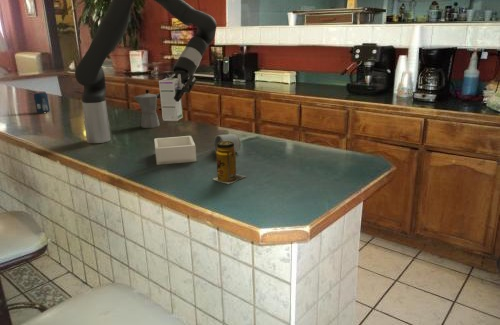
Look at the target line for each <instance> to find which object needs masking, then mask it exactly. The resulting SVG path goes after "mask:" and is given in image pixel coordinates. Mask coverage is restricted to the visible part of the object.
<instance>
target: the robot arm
mask: <svg viewBox="0 0 500 325" xmlns="http://www.w3.org/2000/svg"><path fill="white" fill-rule="evenodd" d="M135 1H136V0H112V1H111V3H110V4H109V7H108V8H107V10H106V13H105V15H104V16H103V18H102V19H101V22H100V24H99V26H98V28H97V30H96V32H95V35H94V36H93V38H92V41H91V43H90V45H89V46H88V49H87V51H86V52H85V54H84V55H83V57H82V59H81V60H80V61H79V63H78V64H77V65H76V68H75V70H74V77H75V80H76V81H77V83H78V84H80V85H82V86H83V91H82V94H81V103H82V109H83V116H84V117H83V118H84V120H83V122H84V131H85V135H86V136H85V137H86V141H87V144H101V143H102V144H103V143H108V142H110V141H111V132H110V124H109V116H108V109H107V108H108V107H107V100H106V94H107V87H106V86H107V85H106V84H107V83H106V77H105V71H104V69H103V64H104V62H105V61H106V59H107V58H108V56H109V55H110V54H111V53H112V52H113V51H114V50H115V49H116V48H117V46H119V44H120V42H121V41H122V39H123V37H124V35H125V34H126V32H127V29H128V27H129V22H130V18H131V17H130V16H131V9H132V6H133V4H134V3H135ZM153 1H154V2H155V3H157V4H159V5H160V7H162V8H163V9H164V10H165V11H167V12H168V13H169V14H170V15H171V16H172V17H174V18H175V19H177V20H178V21H179V22H180V23H182V24H183V25H184V26H187V27H191V26H192V25H194V26H196V27H197V28H196V29H197V30H196V33H195V34H194V36H192V37H191V38H190V39H189V41H188V42H187V44H186V45H185V48H184V49H183V50H182V51H181V53H180V54H179V57H178V58H177V61H176V62H175V64H174V65H173V72H172V73H171V74H169V73H167V72H165V73H164V75H163V77H162V79H161V80H163V79H165V78H178V79H179V80H178V84H179V89H180V90H178V91H177V93H176V95H175V97H174V100H175V101H176V102H179V100H180V99H183V98H182V97H183V95H185V94H186V93H188V94H189V93H190V92H191V91H192V89H193V87H194V85H195V83H196V82H197V79H196V77H195V76H194V74H195V73H196V71H197V69H198V67H199V66H200V64H201V61H202V59H203V57H204V54H205V53H206V51H207V49H208V48H209V46H210V45H211V44H212V42H213V41H214V38H215V36H216V32H217V25H218V24H217V21H216V19H215V18H214V17H213V16H212V15H210V14H208V13H206V12H204V11H201V10H199V9H195V8H194V7H193V6H191V5H190V4H189V3H187V2H186V1H185V0H153ZM157 94H158V97H159V98H158V99H159V100H161V98H160V92H158V93H157Z"/></svg>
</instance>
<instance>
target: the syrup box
mask: <svg viewBox="0 0 500 325" xmlns="http://www.w3.org/2000/svg"><path fill="white" fill-rule="evenodd" d="M178 80H179V79H178V78H165V79H163V80H162V79H161V80H158V86H159V87H158V88H159V93H160V98H161V99H160V98H159V99H160V108H162V110H161V117H162V121H166V122H178V121H179V120H181V119H183V118H184V115H183V100H182V99H183V98H181V99H180V100H179V102H176V101H175V100H174V97H175V95H176V93H177V91H178V90H180V89H179V84H178Z"/></svg>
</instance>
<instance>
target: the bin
mask: <svg viewBox="0 0 500 325" xmlns="http://www.w3.org/2000/svg"><path fill="white" fill-rule="evenodd" d="M154 149H155V160H156V161H155V162H156V165H157V166H158V165H159V166H160V165H169V164H170V165H171V164H181V163H182V164H183V163H193V162H197V148H196V144H195V142H194V139H193V137H192V135H185V136H171V137H157V138H154Z"/></svg>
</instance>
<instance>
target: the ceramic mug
mask: <svg viewBox="0 0 500 325" xmlns="http://www.w3.org/2000/svg"><path fill="white" fill-rule="evenodd" d="M222 141H230V142H233V143H234V150H235V152H236V153H237V152H239V150H240V148H241V140H240V137H239V136H238V135H237V134H235V133H230V134H218V135H215V137H214V140H213V147H214V151H215V154H216V153H217V151H218V150H217V144H218V143H219V142H222Z"/></svg>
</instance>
